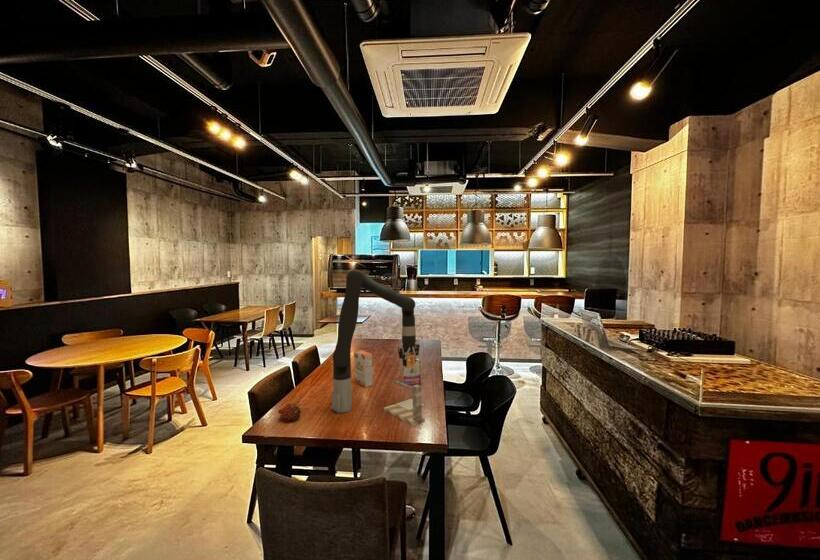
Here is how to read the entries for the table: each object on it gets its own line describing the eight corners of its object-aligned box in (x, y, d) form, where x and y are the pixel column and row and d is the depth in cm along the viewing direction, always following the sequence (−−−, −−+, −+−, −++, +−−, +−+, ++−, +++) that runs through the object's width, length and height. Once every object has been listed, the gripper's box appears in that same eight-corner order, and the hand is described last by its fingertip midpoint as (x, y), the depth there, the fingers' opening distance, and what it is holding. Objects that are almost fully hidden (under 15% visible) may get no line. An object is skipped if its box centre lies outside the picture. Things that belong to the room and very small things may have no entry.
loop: (407, 367, 184) (406, 355, 184) (404, 366, 186) (403, 355, 186) (414, 365, 188) (414, 354, 187) (411, 364, 189) (411, 353, 189)
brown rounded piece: (301, 424, 170) (280, 425, 172) (307, 408, 176) (286, 410, 179) (293, 415, 165) (271, 416, 167) (299, 399, 171) (278, 401, 174)
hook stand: (424, 421, 168) (424, 385, 167) (413, 426, 163) (413, 388, 162) (394, 406, 186) (393, 373, 185) (384, 410, 181) (383, 376, 181)
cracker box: (354, 382, 226) (353, 350, 226) (362, 380, 230) (361, 349, 229) (364, 388, 215) (364, 355, 214) (373, 386, 219) (372, 353, 218)
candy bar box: (419, 382, 224) (418, 357, 223) (420, 385, 219) (420, 360, 218) (402, 384, 222) (401, 359, 221) (403, 386, 217) (403, 361, 216)
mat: (408, 411, 180) (408, 410, 180) (395, 404, 188) (395, 403, 188) (423, 405, 187) (423, 404, 187) (410, 399, 195) (410, 398, 195)
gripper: (414, 331, 194) (414, 361, 194) (394, 334, 184) (394, 366, 185) (423, 333, 188) (423, 363, 189) (402, 336, 179) (403, 369, 179)
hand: (409, 364), depth 187 cm, fingers closed on loop, 5 cm apart
